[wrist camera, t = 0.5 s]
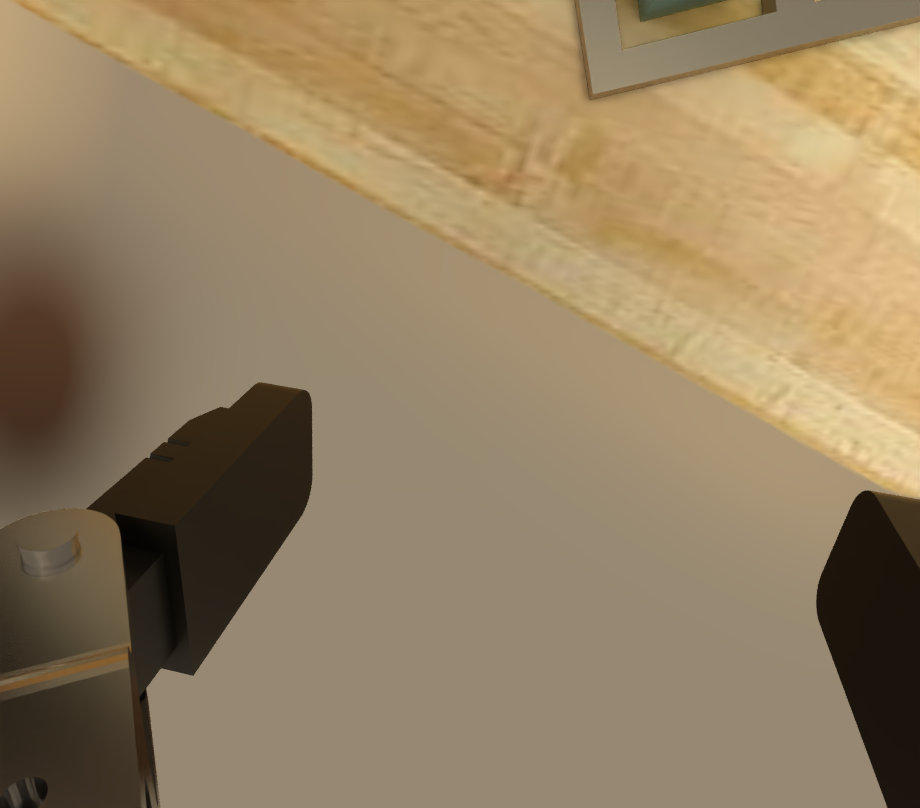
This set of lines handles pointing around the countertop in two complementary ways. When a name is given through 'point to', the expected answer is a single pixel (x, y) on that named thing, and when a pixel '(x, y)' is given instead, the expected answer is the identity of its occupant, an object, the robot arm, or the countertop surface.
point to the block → (668, 7)
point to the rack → (725, 39)
